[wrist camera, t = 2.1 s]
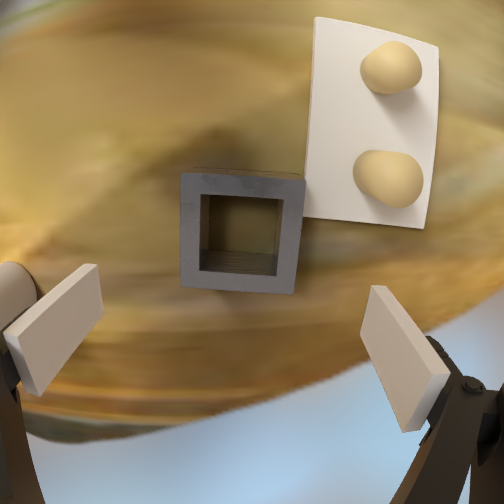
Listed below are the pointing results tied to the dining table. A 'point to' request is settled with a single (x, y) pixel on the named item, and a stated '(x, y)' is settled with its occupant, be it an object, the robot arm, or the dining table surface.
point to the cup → (15, 291)
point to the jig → (370, 125)
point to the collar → (239, 263)
